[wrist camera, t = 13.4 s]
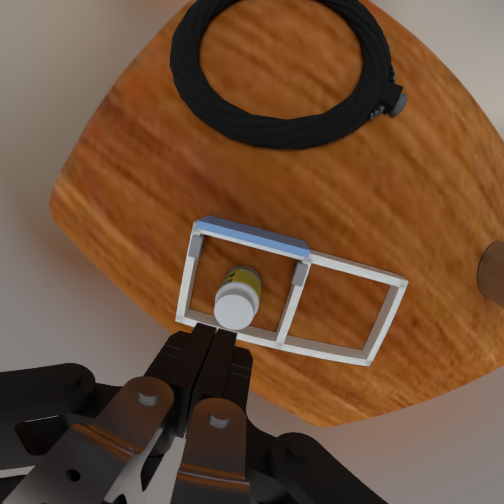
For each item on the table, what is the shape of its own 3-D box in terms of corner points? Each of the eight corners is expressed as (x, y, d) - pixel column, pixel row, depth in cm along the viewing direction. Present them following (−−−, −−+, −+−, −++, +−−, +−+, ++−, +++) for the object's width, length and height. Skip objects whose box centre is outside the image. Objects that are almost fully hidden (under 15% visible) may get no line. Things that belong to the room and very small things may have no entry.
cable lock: (230, -49, 21) (432, 32, 22) (234, -35, 25) (421, 42, 26) (127, 98, 28) (363, 204, 29) (140, 105, 31) (353, 202, 33)
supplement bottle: (234, 258, 35) (222, 281, 27) (268, 276, 35) (267, 304, 27) (217, 290, 36) (202, 320, 28) (250, 307, 36) (244, 341, 28)
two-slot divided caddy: (403, 269, 34) (419, 282, 29) (365, 356, 37) (374, 376, 32) (200, 213, 34) (188, 218, 29) (180, 312, 37) (168, 330, 32)
